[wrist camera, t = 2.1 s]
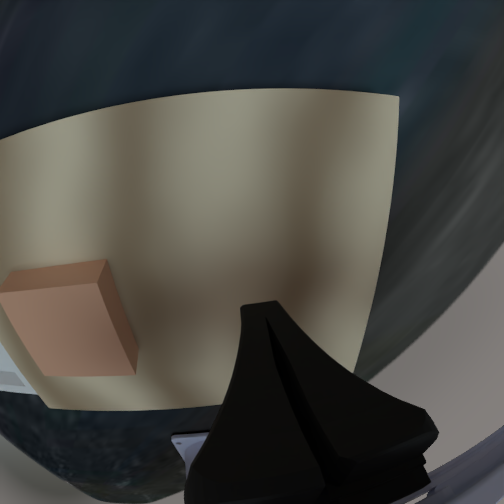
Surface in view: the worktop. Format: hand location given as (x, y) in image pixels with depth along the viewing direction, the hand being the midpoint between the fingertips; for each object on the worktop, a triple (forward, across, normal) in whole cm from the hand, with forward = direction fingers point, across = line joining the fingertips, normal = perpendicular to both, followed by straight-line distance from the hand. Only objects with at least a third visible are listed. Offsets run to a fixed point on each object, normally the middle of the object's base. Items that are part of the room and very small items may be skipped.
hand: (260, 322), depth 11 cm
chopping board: (+4, +4, 0) cm, 6 cm away
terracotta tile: (+2, +8, 0) cm, 8 cm away
